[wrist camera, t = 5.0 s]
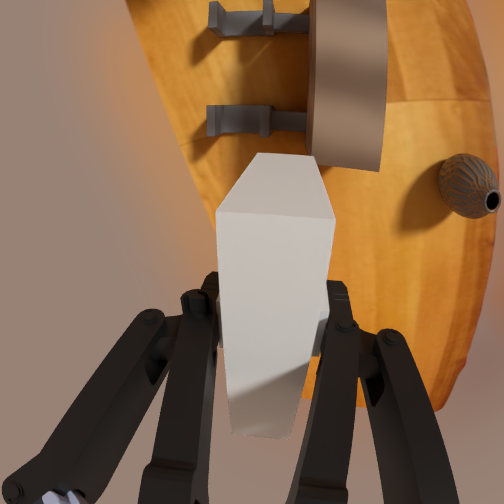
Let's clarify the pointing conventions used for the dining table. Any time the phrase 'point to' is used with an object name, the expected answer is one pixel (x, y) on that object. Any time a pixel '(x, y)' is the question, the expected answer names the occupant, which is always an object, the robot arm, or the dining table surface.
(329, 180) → the dining table surface
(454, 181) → the vase
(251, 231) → the door
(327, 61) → the cabinet
